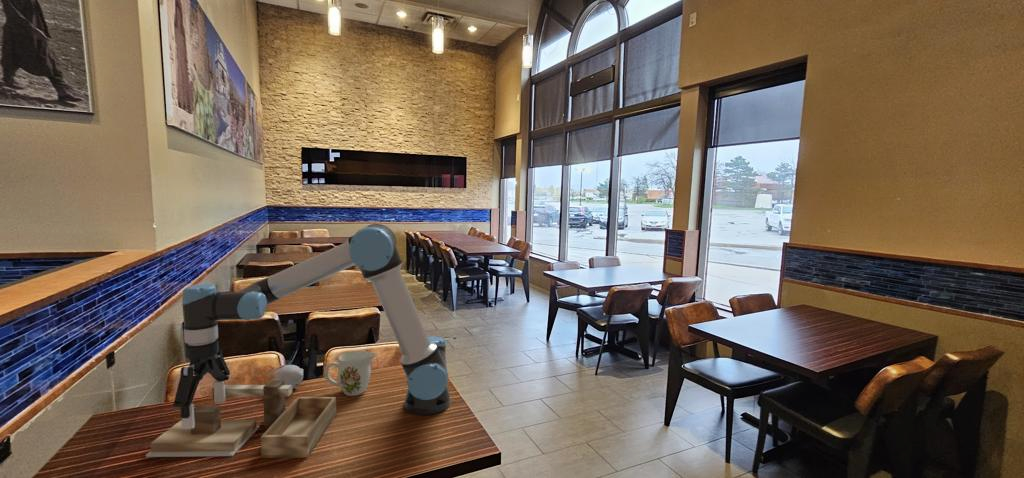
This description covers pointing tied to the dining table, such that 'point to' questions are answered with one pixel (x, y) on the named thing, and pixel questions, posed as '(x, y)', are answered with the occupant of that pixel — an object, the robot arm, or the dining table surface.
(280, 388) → the beige wooden bar
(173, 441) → the lid
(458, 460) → the dining table surface
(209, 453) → the light grey flat board
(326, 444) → the dining table surface
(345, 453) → the dining table surface
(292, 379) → the toy
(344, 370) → the pitcher
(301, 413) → the light wood open box
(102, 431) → the dining table surface
